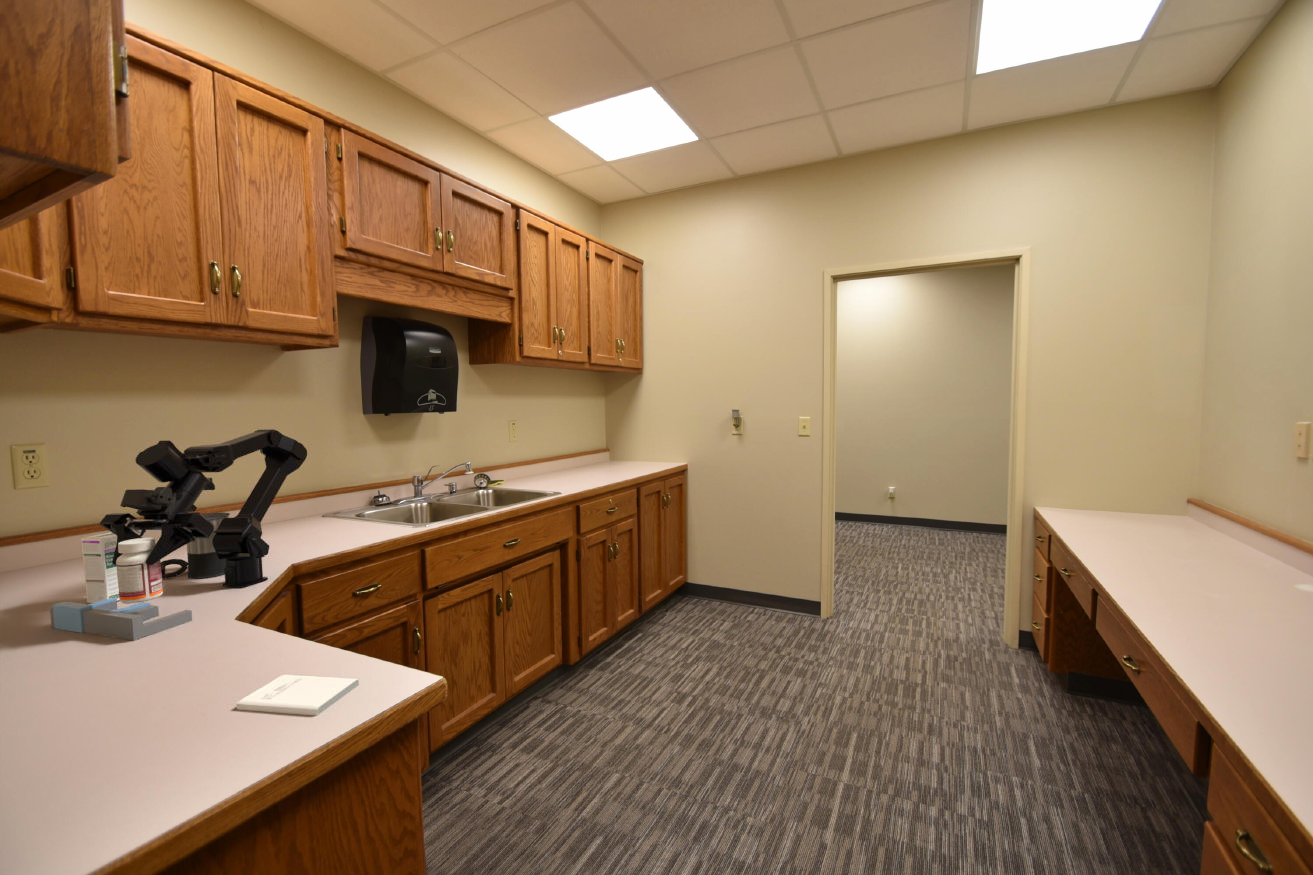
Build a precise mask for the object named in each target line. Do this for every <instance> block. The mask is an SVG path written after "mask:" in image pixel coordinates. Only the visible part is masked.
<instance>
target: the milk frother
mask: <svg viewBox="0 0 1313 875" xmlns="http://www.w3.org/2000/svg"><path fill="white" fill-rule="evenodd" d="M200 514H201V515H202V516H204V517H205V518H206V519H207V520H209V521H210V522H211V523H212V524H213V527H214V530H213V532H212V534H211V535H210V537H209V538H195V537H194V538H195V539H196V540H195V541H194V542H189V543H187V544H186V551H187V561H186V560H184V559H181V558H180V559H179V558H171V559H165V560H162V561H161V572H162V580H163V579H170V578H173V577H177V576H179V575H181V574H183V573H185V572H186V571H187V575H186V577H187V578H188V579H195V580H197V579H208V578H213V577H219V576H223V575H225V572H224V568H225V567H226V560H228V559H223V560H219V559H218V556H217V554H216V552H215V549H214V547H213V543H212V540H213V537H214V535H215V534H216V533H214V531H215V530H217V528H218V527H219V525H220V523H221V521H222V520H223V519H224V518H230V515H231V513H229V512H220V511H219V512H218V511H217V512H208V513H200ZM171 565H178V566H180V568H179V569H177V570H174V571H172V572H169V573H166V567H167V566H171Z"/></svg>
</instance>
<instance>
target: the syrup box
mask: <svg viewBox="0 0 1313 875" xmlns="http://www.w3.org/2000/svg"><path fill="white" fill-rule="evenodd" d="M80 540H81V541H80V543H81V551H82V563H83V571H84V579H85V580H84V581H85V591H86V602H87V603H88V604H92V603H95V602H99V601H103V600H106V599H110V598H116V599H117V602H120V598H119V588H118V578H117V567H116V565H114V564H113V563H112V561H113V557H114V552H115V548H116V543H117V536H116V535H115V534H113V533H112V532H110V531H109V532H107V533H101V534H95V535H92V536H86V537H82V538H80Z"/></svg>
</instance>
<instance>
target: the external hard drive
mask: <svg viewBox="0 0 1313 875" xmlns="http://www.w3.org/2000/svg"><path fill="white" fill-rule="evenodd" d="M358 686H360V680H359V679H358V678H342V677H332V676H331V677H330V676H329V677H328V676H327V677H326V676H311V675H297V674H296V675H295V674H282V675H280V676H279V677H277V678H275V679H273V680H272V681H270V682H268V683H267V684H265V685H263V686H261V687H260V688H258V689H256V690H255V691H253V692H252V693H250V694H248V695H247V696H245V697H243V698H241V699H240V700H238V701H237V703H236V710H241V711H251V712H253V711H255V712H265V713H267V712H268V713H277V714H278V713H280V714H289V715H290V714H292V715H303V716H304V715H305V716H320V714H322V713H323V712H325V711H326V710H327V709H328V708H330V707H331V706H333V705H334V704H335V703H337V702H338V701H339V700H340V699H342V698H344V697H345V696H346V695H347V694H349V693H350V692H351V691H353V690H354V689H355V688H357V687H358Z"/></svg>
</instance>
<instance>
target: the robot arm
mask: <svg viewBox="0 0 1313 875" xmlns="http://www.w3.org/2000/svg"><path fill="white" fill-rule="evenodd" d="M258 451H259V452H260V454H261V455H263V456H264V462H265V463H264V464H265V470H264V471H263V472H262V474H261V476H260V477H259V478H258V481H257V483H256V484H255V485H254V488H252V491H251V492H250V493H249V496H248V497H247V498H246V500H245V502H244V504H243V505H242V506H241V508H240V510H239V511H238V514H236V516H235V515H234V517H229V518H224V519H223V520H222V521H221V523H220V525H219V527H218V528H217V530H215V531H214V533H216V534H215V535H214V537H213V540H212V543H213V547H214V549H215V552H216V554H217V556H218V559H219V560H223V559H228V560H226V567H225V568H224V572H225V574H224V581H225V582H223V583H222V585H221V586H223V587H232V588H233V587H234V588H239V589H240V588H245V587H248V586H251V585H254V584H257V583H260V582H264V581H268V579H269V578H268V577H269V576H264V572H263V558H265V556H267V555H269V550H270V544H268V543H267V542H266V541H265V540H264V539H262V536H263V530H262V521H263V519H264V518H265V516H266V513H267V512H268V510H269V508H270V507H271V505H272V503H273V502H274V500H275V498H276V496H277V495H278V492H279V491H280V489H281V488H282V486H283V484H284V482H285V480H286V478H287V477H288V476H289V475H291V474H293V473H294V472H295V471H297V470H298V469H300V467H301V466H302V465H303V464H304V462H305V461H306V459H307V457H308V450H307V448H306V447H305V445H304V444H303V443H301V442H299V441H298V440H296V439H294V438H292V437H289V436H286V435H285V434H283V433H282V432H281V431H278V430H276V429H271V428H269V429H265V428H264V429H257V430H255V431H253V432H251V433H248V434H244V435H242V436H239V437H236V438H233V439H230V440H226V441H223V442H221V443H216V444H203V445H194V446H189V447H187V448H186V449H184V450H183V452H181V451H180V449H178V448H177V446H176V445H175V444H174V442H172V441H171V440H159V441H158V442H157V444H154V445H151V446H149V447H147V448H145V449H144V450H142V451H140V452H139V453H138V454H137V455H136V457H135V464H137V466H139V467H140V468H141V469H143V470H144V471H145V472H146V473H147V474H149V475H150V476H151V477H152V478H153V479H155V480H156V481H157V482H159V483H167V485H165V486H157V487H155V489H143V488H142V489H125V491H124V495H123V496H122V499H121V502H120V507H121V508H130V509H133V510H137V511H136V512H135V513H136V514H137V515H138V516H140V517H143V519H138V518H137V517H135V515H132V514H131V513H129V512H123V513H122V512H116V513H115V512H113V513H107V514H105V516H104V517H103V518H102V519H101V520H100V522H99V525H100V526H102V527H104V529H106V530H107V531H108V532H109V533H110V532H112V533H113V534H115V535H116V536H117V543H116V548H115V552H114V557H113V561H112V563H113V564H114V565H116V560H117V558H118V557H120V556H121V555H122V554H123V553H119V552H118V543H120V542H122V541H126V540H131V539H137V538H143V537H144V534H145V533H146V532H147V531H161V532H160V533H161V535H160V537H159V539H158V540H157V542H155V546H154V548H153V550H152V551H151V553H150V555H149V556H148V558H147V560H146V564H148V565H153V564H154V563H156V562H157V561H159V560H160V561H161V560H162V559H164V558H165V557H167V556H168V555H170V554H171V553H174V552H175V551H176V550H178V549H180V548H182V547H184V546H187V543H189V542H194V541H195V540H196V539H195V538H209V537H210V535H211V534H212V532H213V530H214V527H213V524H212V523H211V522H210V521H209V520H207V519H206V518H205V517H204V516H202V515H201V514H202V513H200V512H198V511H197V508H198V507H197V506H196V505H195V503H196V501H197V500H198V498H200V496H201V494H202V493H203V491H215V489H216V485H215V484H214V482H213V477H207V476H206V475H205V473H221V472H223V471H225V470H226V469H228V468H230V467H231V466H233V464H234V463H235V461H236V460H237V459H239V458H243V457H245V456H248V455H250V454H253V453H255V452H258ZM196 511H197V512H196ZM194 537H195V538H194Z"/></svg>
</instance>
